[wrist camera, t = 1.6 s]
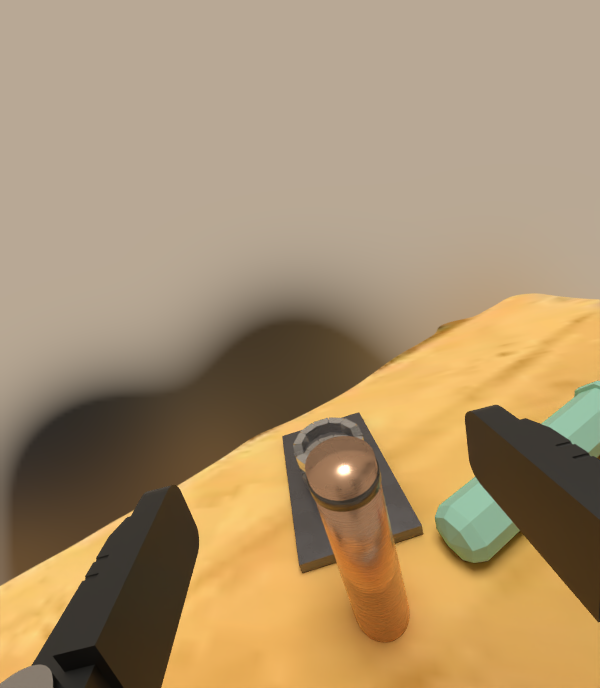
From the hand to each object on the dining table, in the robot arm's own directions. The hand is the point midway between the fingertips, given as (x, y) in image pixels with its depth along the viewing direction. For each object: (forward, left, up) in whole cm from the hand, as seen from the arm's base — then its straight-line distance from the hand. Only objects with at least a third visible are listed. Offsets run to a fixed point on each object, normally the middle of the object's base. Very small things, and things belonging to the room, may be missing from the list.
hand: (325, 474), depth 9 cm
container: (-20, -14, -24) cm, 35 cm away
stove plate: (-1, -22, -24) cm, 33 cm away
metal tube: (-1, -8, -24) cm, 25 cm away
